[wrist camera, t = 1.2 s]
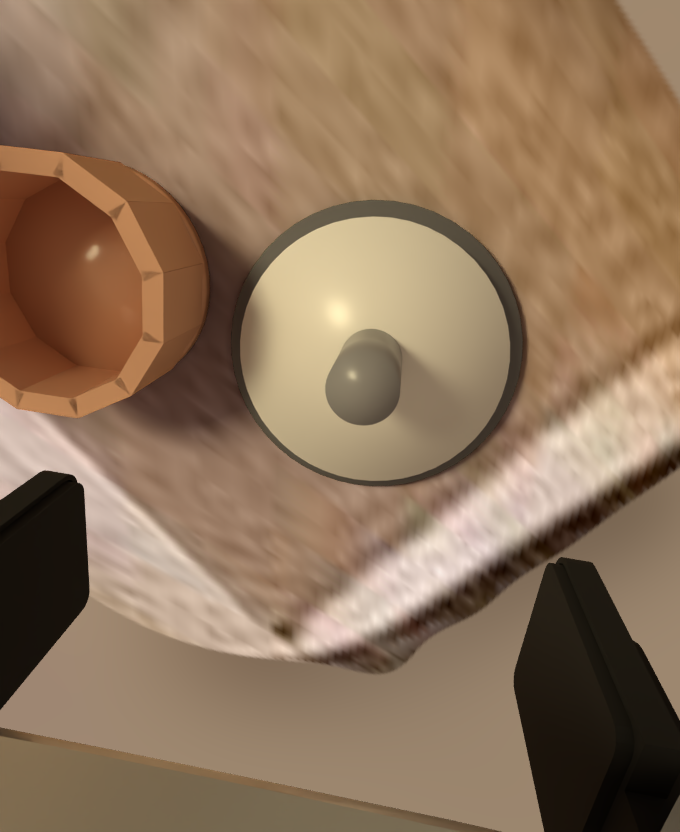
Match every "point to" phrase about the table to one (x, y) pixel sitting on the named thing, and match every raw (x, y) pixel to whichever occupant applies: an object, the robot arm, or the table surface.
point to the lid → (375, 348)
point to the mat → (417, 216)
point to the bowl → (91, 281)
